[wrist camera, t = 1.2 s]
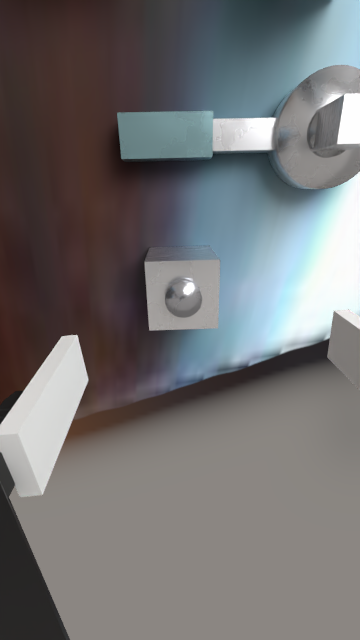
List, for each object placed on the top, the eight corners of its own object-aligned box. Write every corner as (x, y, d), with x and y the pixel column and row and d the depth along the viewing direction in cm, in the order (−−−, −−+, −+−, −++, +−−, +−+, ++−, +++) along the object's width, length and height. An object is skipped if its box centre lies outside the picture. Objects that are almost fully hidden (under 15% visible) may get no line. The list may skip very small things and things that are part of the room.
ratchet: (128, 193, 29) (115, 194, 23) (118, 81, 26) (100, 41, 19) (351, 188, 30) (405, 186, 23) (372, 77, 26) (444, 36, 19)
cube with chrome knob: (153, 303, 34) (148, 335, 27) (149, 247, 32) (143, 264, 24) (208, 301, 34) (219, 332, 27) (209, 245, 32) (222, 262, 24)
